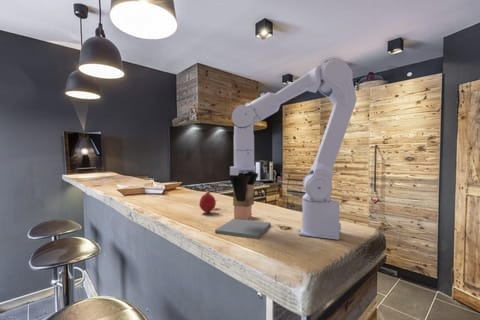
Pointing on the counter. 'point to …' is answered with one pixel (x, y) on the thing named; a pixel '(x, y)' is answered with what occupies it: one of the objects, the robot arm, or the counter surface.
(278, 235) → the counter surface
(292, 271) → the counter surface
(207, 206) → the onion
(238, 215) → the terracotta block
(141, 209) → the counter surface
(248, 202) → the walnut block
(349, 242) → the counter surface
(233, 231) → the slate board
